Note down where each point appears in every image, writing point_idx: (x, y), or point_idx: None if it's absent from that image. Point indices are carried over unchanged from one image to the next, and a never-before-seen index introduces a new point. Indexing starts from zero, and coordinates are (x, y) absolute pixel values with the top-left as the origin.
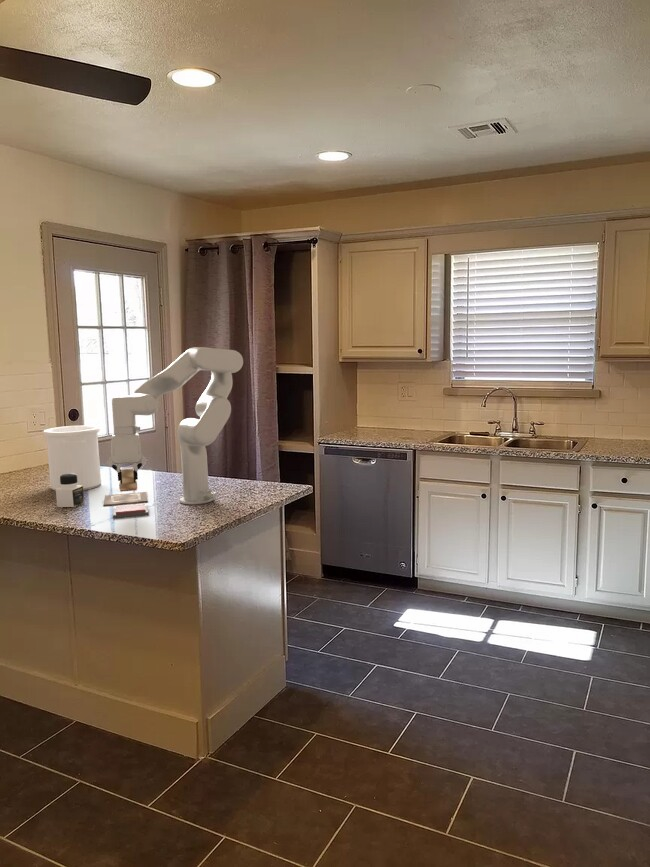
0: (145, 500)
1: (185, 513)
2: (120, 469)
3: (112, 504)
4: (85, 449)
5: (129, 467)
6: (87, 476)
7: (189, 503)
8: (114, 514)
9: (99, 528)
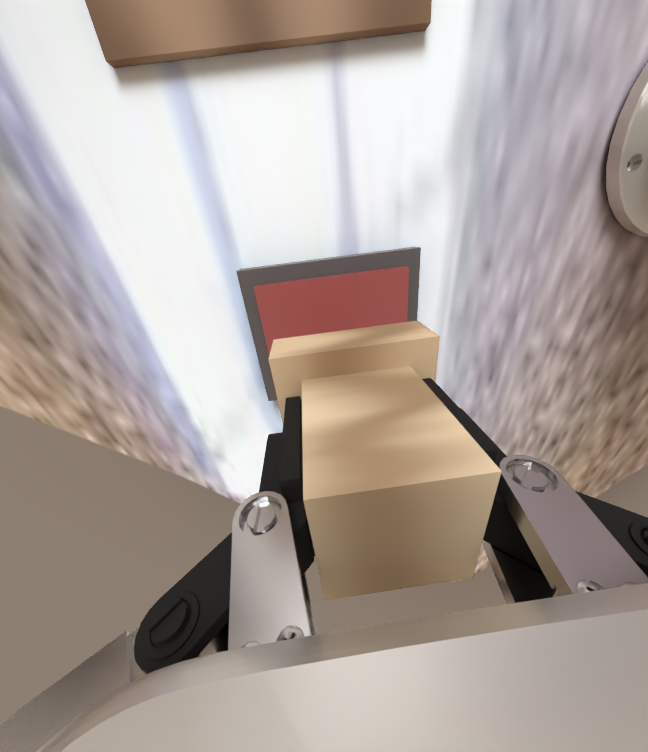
0: (415, 1)
1: (544, 378)
2: (301, 550)
3: (173, 55)
4: None
5: (439, 485)
6: None
7: (632, 230)
8: (272, 389)
9: (252, 487)
